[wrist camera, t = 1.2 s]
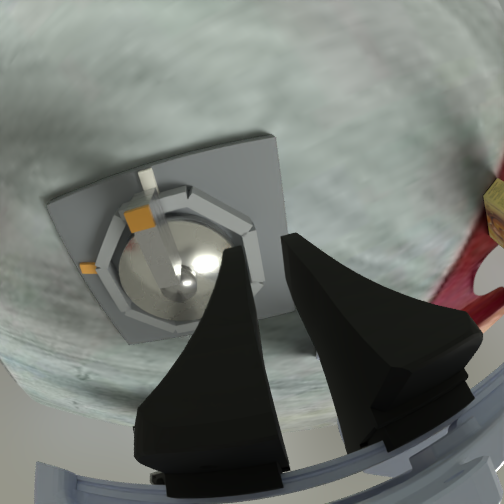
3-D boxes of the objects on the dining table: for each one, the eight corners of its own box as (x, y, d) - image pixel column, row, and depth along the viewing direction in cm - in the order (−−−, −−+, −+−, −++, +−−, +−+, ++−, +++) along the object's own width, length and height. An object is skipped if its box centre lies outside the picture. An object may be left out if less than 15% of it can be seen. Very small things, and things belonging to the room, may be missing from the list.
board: (292, 303, 26) (298, 320, 24) (130, 337, 26) (127, 354, 24) (272, 134, 17) (280, 140, 15) (51, 200, 16) (38, 213, 14)
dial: (247, 296, 23) (256, 334, 20) (149, 317, 23) (145, 354, 19) (216, 164, 17) (220, 187, 13) (91, 201, 16) (67, 232, 13)
